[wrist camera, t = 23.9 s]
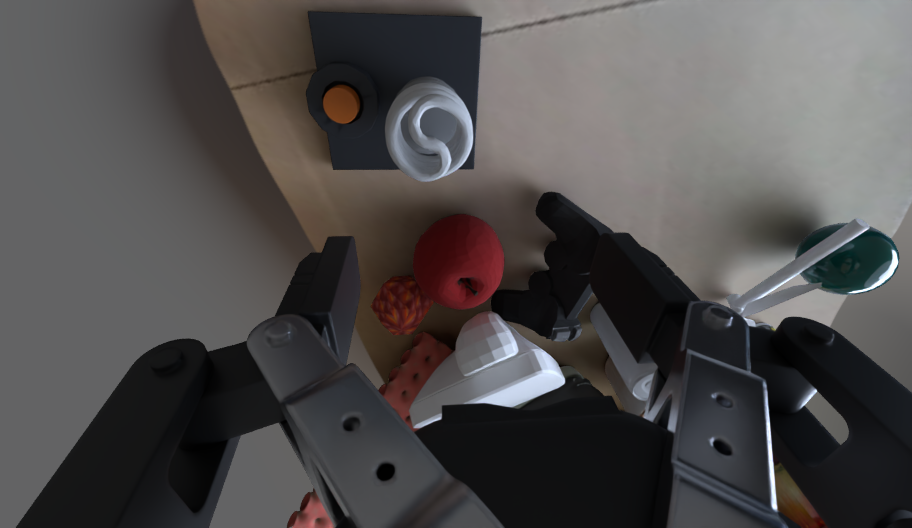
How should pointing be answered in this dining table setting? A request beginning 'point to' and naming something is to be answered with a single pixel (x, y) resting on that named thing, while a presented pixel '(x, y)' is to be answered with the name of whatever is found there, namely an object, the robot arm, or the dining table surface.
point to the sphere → (851, 261)
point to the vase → (793, 500)
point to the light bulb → (428, 129)
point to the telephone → (487, 371)
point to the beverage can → (623, 355)
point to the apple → (458, 262)
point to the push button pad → (387, 74)
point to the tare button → (341, 104)
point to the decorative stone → (401, 305)
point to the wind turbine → (792, 274)
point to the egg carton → (312, 518)
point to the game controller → (556, 273)
